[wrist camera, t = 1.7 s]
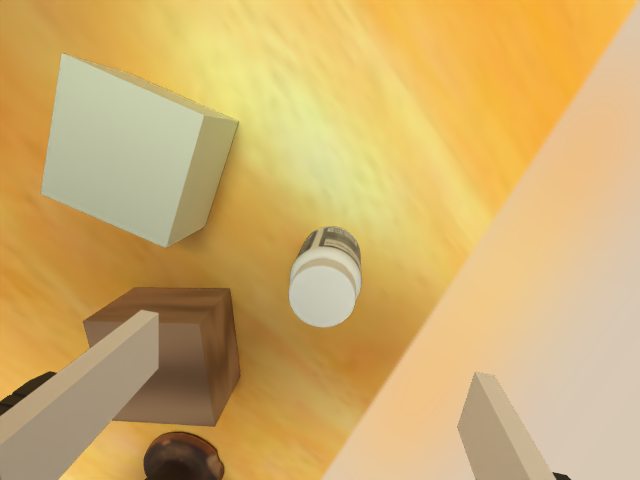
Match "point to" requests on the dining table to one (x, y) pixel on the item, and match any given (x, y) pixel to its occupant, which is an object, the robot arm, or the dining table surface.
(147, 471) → the vase
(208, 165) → the sage block
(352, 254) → the pill bottle
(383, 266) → the dining table surface
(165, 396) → the walnut block
